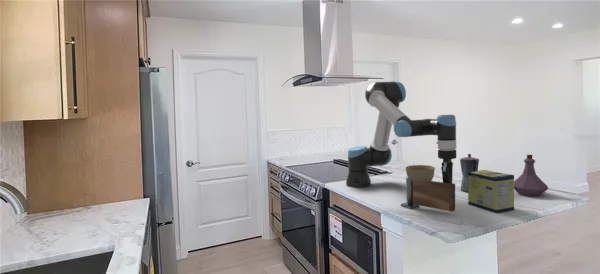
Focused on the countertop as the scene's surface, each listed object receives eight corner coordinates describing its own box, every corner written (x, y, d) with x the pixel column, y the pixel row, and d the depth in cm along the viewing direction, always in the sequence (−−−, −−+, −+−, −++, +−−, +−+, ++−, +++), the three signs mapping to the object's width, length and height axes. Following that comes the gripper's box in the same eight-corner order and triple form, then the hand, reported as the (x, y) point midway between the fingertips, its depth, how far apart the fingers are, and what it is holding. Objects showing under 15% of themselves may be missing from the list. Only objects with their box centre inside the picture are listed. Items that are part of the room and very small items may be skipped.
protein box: (484, 201, 158) (484, 169, 157) (514, 210, 143) (515, 175, 142) (467, 204, 154) (467, 171, 153) (496, 213, 140) (496, 177, 139)
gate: (415, 203, 154) (414, 178, 153) (455, 210, 142) (455, 183, 141) (412, 204, 152) (412, 180, 152) (453, 211, 140) (452, 184, 139)
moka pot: (473, 187, 184) (473, 152, 183) (486, 194, 169) (486, 156, 167) (455, 187, 185) (455, 152, 184) (467, 194, 170) (467, 156, 168)
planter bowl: (403, 182, 203) (403, 165, 202) (431, 182, 201) (430, 164, 200) (408, 189, 187) (408, 170, 186) (438, 188, 185) (438, 169, 184)
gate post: (400, 206, 156) (400, 176, 155) (409, 203, 159) (409, 175, 158) (410, 209, 151) (410, 179, 150) (419, 206, 154) (419, 177, 153)
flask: (517, 188, 178) (518, 152, 176) (554, 194, 165) (555, 154, 163) (504, 194, 168) (504, 155, 167) (542, 200, 155) (542, 158, 154)
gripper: (441, 147, 153) (442, 197, 155) (434, 151, 143) (435, 204, 145) (458, 147, 149) (459, 198, 151) (453, 151, 139) (454, 206, 141)
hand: (448, 201), depth 148 cm, fingers closed
